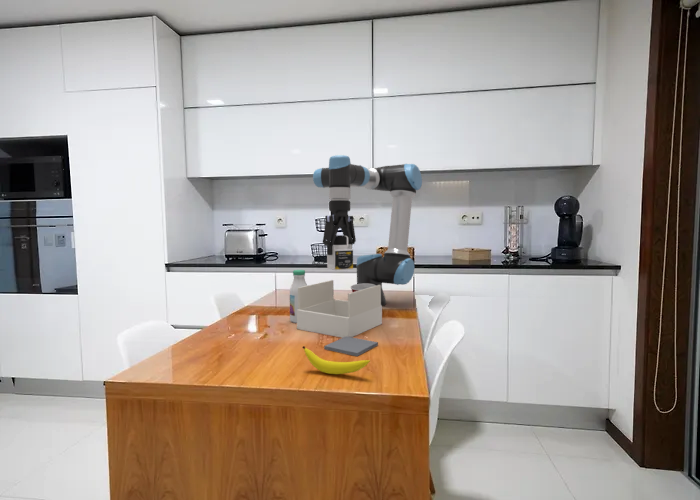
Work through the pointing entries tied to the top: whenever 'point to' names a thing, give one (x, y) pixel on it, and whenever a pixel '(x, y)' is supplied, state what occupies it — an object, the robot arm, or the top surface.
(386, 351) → the top surface
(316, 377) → the top surface
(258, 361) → the top surface
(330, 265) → the medicine bottle
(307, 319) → the carton
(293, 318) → the milk bottle
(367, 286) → the plastic cup
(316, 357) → the banana
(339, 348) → the mat
